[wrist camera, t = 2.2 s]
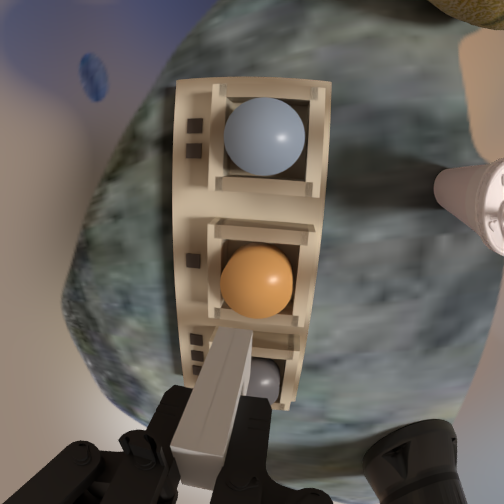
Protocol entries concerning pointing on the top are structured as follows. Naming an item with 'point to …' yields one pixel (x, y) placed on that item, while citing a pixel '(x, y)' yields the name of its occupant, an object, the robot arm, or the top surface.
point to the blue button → (264, 136)
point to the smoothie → (476, 199)
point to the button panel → (245, 218)
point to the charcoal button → (264, 379)
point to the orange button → (257, 280)
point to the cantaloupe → (474, 11)
